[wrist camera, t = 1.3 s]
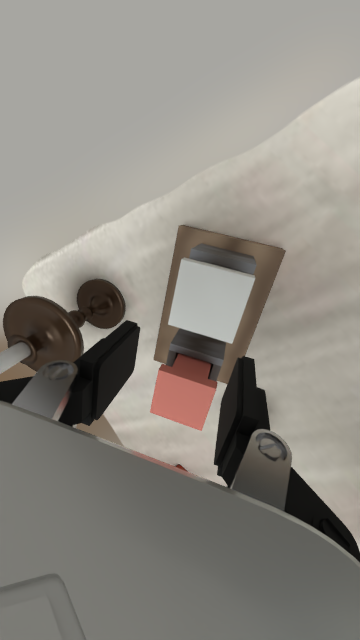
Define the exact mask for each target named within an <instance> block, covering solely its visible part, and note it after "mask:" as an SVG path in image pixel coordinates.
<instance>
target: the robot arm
mask: <svg viewBox="0 0 360 640" xmlns="http://www.w3.org/2000/svg"><path fill="white" fill-rule="evenodd" d="M139 333H140V327H138V326H137V323H134V322H131V321H128V320H126V321H125V322H124V323H123V324H121V325H120V326H119V327H118V328H117V329H115V330H114V331H113V332H112V333H111V334H110V335H108V336H107V337H106V338H103V339H101V340H100V341H99V342H97V343H96V344H95V345H94V346H93V347H91V348H90V349H89V350H88V351H87V352H85V353H84V354H83V355H82V356H80V357H79V358H78V359H77V360H76V361H74V362H73V363H72V362H71V361H66V360H57V361H52V362H49V363H47V364H45V365H43V366H42V367H41V368H40V369H39V370H38V372H37V373H36V374H35V376H33V377H27V378H20V379H15V380H8V381H3V382H0V640H360V552H359V549H358V546H357V543H356V541H355V539H354V538H353V536H352V534H351V532H350V531H349V530H348V529H347V527H346V526H345V525H344V524H343V523H342V521H341V520H340V519H339V518H338V517H337V516H336V515H335V514H334V513H333V512H332V511H331V509H330V508H329V507H328V506H327V505H326V504H325V503H324V502H323V501H322V500H321V499H320V497H319V496H318V495H317V494H316V493H315V492H314V491H313V490H312V489H311V488H310V487H309V486H308V484H307V483H306V482H305V481H304V480H303V479H302V478H301V477H300V476H299V475H298V474H297V472H296V471H295V470H294V469H293V468H292V467H291V462H292V453H291V450H290V448H289V446H288V445H287V443H286V442H285V441H284V440H283V439H282V438H281V437H280V436H279V435H277V434H276V433H274V432H272V431H270V425H269V417H268V410H267V402H266V394H265V390H263V389H260V388H257V386H256V375H255V363H254V359H251V358H248V357H245V356H242V358H239V357H238V358H237V360H236V363H235V366H234V368H233V371H232V374H231V376H230V379H229V382H228V384H227V387H226V390H225V392H224V395H223V398H222V401H221V408H220V416H219V424H218V433H217V441H216V449H215V458H214V465H217V466H218V472H217V475H218V476H221V477H222V478H223V479H224V481H225V482H226V484H227V486H226V487H225V486H222V485H220V484H217V483H215V482H212V481H209V480H207V479H204V478H202V477H199V476H197V475H194V474H192V473H189V472H187V471H184V470H182V469H179V468H177V467H174V466H172V465H169V464H167V463H164V462H161V461H159V460H156V459H154V458H151V457H149V456H146V455H144V454H141V453H138V452H136V451H133V450H131V449H128V448H126V447H123V446H120V445H118V444H115V443H113V442H110V441H108V440H105V439H102V438H100V437H97V436H95V435H92V434H90V433H87V432H84V431H81V430H79V429H76V424H79V423H83V424H86V425H88V426H90V424H91V423H92V422H93V421H94V419H95V420H98V419H99V418H100V416H101V415H102V414H103V413H104V411H105V410H106V409H107V407H108V406H109V404H110V403H111V402H112V400H113V399H114V398H115V396H116V395H117V393H118V392H119V391H120V389H121V388H122V387H123V385H124V384H125V383H126V381H127V380H128V378H129V377H130V376H131V374H132V373H133V370H134V367H135V360H136V353H137V346H138V339H139Z"/></svg>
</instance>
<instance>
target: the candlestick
mask: <svg viewBox="0 0 360 640" xmlns="http://www.w3.org/2000/svg"><path fill="white" fill-rule="evenodd" d="M77 304H78V308H79V310H78V311H76V310H73V311H70V312H69V313H68V312H67V311H66V310H65V309H63V308H62V307H61V306H60V305H58V304H57V303H55V302H53V301H52V300H49V299H47V298H44V297H39V296H28V297H24V298H21V299H18V300H15V301H14V302H12V303H11V304H10V305H9V306H8V307H7V309H6V311H5V313H4V318H3V328H4V332H5V336H6V338H7V341H8V349H6V350H4V351H3V352H1V353H0V374H1V373H2V372H4V371H5V370H7V369H9V368H10V367H12V366H13V365H15V364H17V363H18V362H21V363H23V364H26V365H27V366H28V367H30V368H31V369H33V370H35V371H37V372H38V370H39V369H40V368H41V367H42V366H43V365H45V364H47V363H49V362H52V361H57V360H66V361H71V362H72V363H73V362H74V361H76V360H77V359H78V358H79V357H80V356H82V355H83V351H84V345H83V339H82V335H81V332H80V330H79V328H80V327H82V326H83V325H84V322H85V321H88V322H89V323H90V324H92V325H94V326H96V327H98V328H102V329H108V328H112V327H114V326H116V325H117V324H118V323H119V322H120V321H121V320H122V319H123V317H124V314H125V302H124V299H123V296H122V294H121V293H120V291H119V290H118V289H117V288H116V287H115V286H114V285H113V284H111V283H110V282H108V281H105V280H102V279H94V280H90V281H88V282H86V283H84V284H83V285H82V286H81V287H80V289H79V291H78V294H77Z"/></svg>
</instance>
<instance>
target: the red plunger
mask: <svg viewBox="0 0 360 640" xmlns="http://www.w3.org/2000/svg"><path fill="white" fill-rule="evenodd" d="M210 367H211V363H209V362H206V361H202V360H199V359H196V358H193V357H190V356H187V355H184V354H180V353H179V354H178V356H177V358H176V360H175V362H174V364H173V366H172V367H170V366H167V365H164V364H162V365H161V367H160V368H159V371H158V376H157V380H156V385H155V390H154V395H153V400H152V405H151V410H150V412H151V413H153V414H156V415H159V416H162V417H164V418H167V419H170V420H173V421H176V422H178V423H181V424H184V425H187V426H189V427H192V428H195V429H198V430H200V431H202V428H203V425H204V422H205V420H206V417H207V414H208V411H209V408H210V405H211V403H212V400H213V397H214V394H215V391H216V388H217V382H216V381H213V380H210V379H208V376H209V371H210Z"/></svg>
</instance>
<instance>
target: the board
mask: <svg viewBox="0 0 360 640" xmlns="http://www.w3.org/2000/svg"><path fill="white" fill-rule="evenodd" d="M285 252H286V251H285V250H283V249H282V248H278V247H273V246H269V245H265V244H261V243H256V242H252V241H248V240H244V239H240V238H235V237H231V236H227V235H223V234H219V233H214V232H210V231H206V230H202V229H198V228H193V227H189V226H185V225H180V226H179V228H178V233H177V238H176V244H175V249H174V254H173V259H172V265H171V270H170V275H169V281H168V286H167V291H166V297H165V302H164V307H163V313H162V318H161V323H160V328H159V334H158V339H157V344H156V350H155V355H154V360H155V361H158V362H162V363H165V364H166V365H167V366H170V367H172V366H173V364H174V362H175V360H176V358H177V356H178V354H179V353H180V354H184V355H187V356H190V357H193V358H196V359H199V360H202V361H206V362H209V363H211V367H210V371H209V376H208V379H210V380H213V381H220V382H223V383H226V384H228V382H229V379H230V376H231V374H232V371H233V368H234V366H235V363H236V360H237V358H238V357H239V358H242V356H245V354H246V351H247V349H248V346H249V344H250V341H251V339H252V336H253V334H254V331H255V328H256V326H257V323H258V321H259V318H260V316H261V313H262V310H263V308H264V305H265V303H266V300H267V298H268V295H269V293H270V290H271V287H272V285H273V282H274V280H275V277H276V275H277V272H278V269H279V267H280V264H281V262H282V259H283V257H284V254H285ZM184 257H185V258H189V259H192V260H196V261H200V262H202V261H203V262H207V263H211V264H214V265H218V266H222V267H226V268H230V269H234V270H238V271H240V272H243V273H247V274H251V275H255V281H254V284H253V286H252V289H251V292H250V295H249V298H248V301H247V303H246V306H245V309H244V312H243V315H242V318H241V320H240V323H239V326H238V329H237V332H236V335H235V337H234V340H233V343H232V344H231V343H228V342H224V341H221V340H218V339H214V338H211V337H208V336H205V335H201V334H198V333H195V332H191V331H188V330H185V329H181V328H178V327H175V326H171V325H168V322H169V317H170V312H171V307H172V302H173V297H174V292H175V288H176V283H177V278H178V273H179V268H180V263H181V259H183V258H184Z"/></svg>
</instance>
